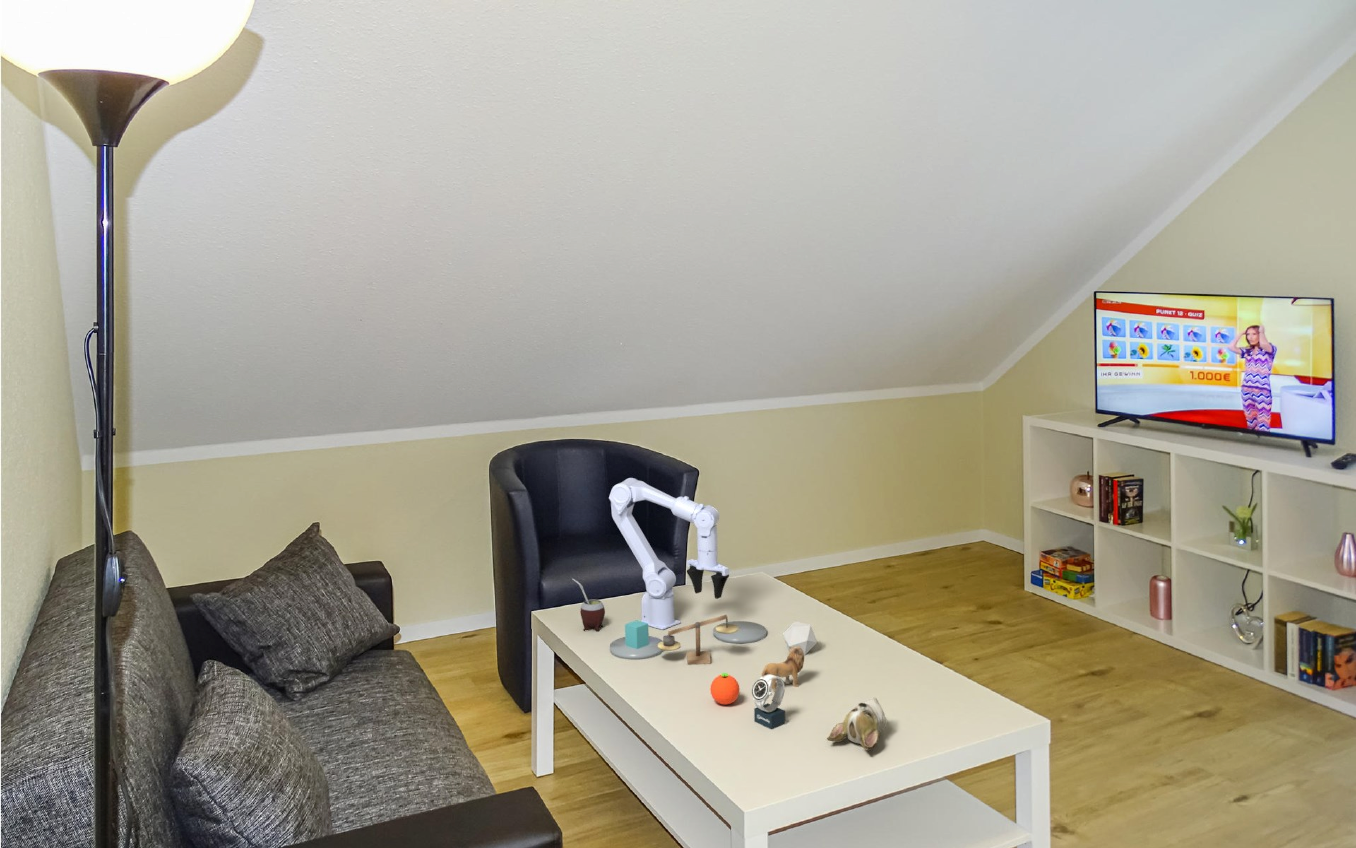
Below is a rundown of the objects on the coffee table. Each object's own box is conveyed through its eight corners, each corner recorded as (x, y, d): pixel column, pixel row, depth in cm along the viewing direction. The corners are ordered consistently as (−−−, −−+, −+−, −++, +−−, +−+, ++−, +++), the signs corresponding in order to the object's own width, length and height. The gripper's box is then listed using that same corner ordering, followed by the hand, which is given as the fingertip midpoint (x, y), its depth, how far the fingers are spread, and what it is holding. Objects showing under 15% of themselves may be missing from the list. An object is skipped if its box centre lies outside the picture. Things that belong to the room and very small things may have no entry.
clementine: (710, 695, 247) (710, 667, 246) (739, 695, 247) (738, 667, 246) (710, 709, 239) (710, 680, 238) (740, 709, 239) (739, 680, 238)
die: (822, 653, 274) (813, 619, 278) (814, 648, 267) (805, 613, 271) (794, 662, 276) (785, 628, 281) (785, 657, 269) (776, 622, 273)
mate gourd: (609, 629, 295) (608, 579, 293) (585, 635, 290) (584, 584, 288) (597, 622, 301) (595, 573, 299) (573, 628, 297) (571, 578, 294)
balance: (658, 665, 267) (657, 621, 265) (657, 657, 273) (656, 613, 271) (739, 662, 267) (739, 618, 266) (737, 654, 273) (736, 611, 271)
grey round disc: (702, 635, 288) (702, 631, 288) (736, 621, 299) (736, 617, 299) (743, 647, 278) (743, 643, 278) (777, 633, 289) (777, 628, 289)
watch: (748, 724, 231) (747, 677, 229) (773, 714, 236) (773, 668, 234) (765, 732, 227) (765, 685, 225) (790, 721, 232) (790, 675, 230)
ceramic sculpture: (897, 695, 223) (869, 724, 211) (898, 732, 225) (870, 763, 213) (853, 685, 229) (823, 713, 217) (854, 721, 231) (824, 751, 219)
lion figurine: (794, 676, 257) (794, 642, 256) (810, 682, 253) (809, 648, 252) (752, 692, 248) (751, 657, 247) (767, 699, 244) (766, 663, 243)
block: (625, 645, 278) (624, 624, 277) (637, 641, 282) (636, 620, 281) (637, 649, 275) (636, 628, 274) (648, 644, 278) (648, 623, 278)
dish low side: (598, 650, 278) (598, 646, 278) (637, 635, 289) (637, 631, 289) (637, 663, 268) (636, 659, 268) (676, 648, 279) (675, 643, 279)
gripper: (679, 548, 292) (680, 593, 294) (717, 556, 283) (718, 603, 285) (695, 542, 298) (696, 587, 300) (733, 551, 288) (734, 597, 290)
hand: (708, 595), depth 292 cm, fingers open, 7 cm apart
